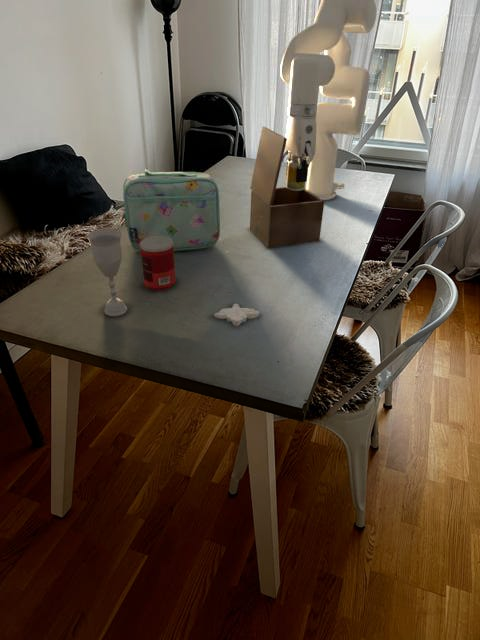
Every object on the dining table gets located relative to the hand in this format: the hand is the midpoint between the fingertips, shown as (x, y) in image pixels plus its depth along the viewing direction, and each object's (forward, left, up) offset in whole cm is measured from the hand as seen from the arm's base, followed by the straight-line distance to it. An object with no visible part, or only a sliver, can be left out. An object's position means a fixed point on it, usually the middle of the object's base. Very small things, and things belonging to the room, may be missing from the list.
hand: (296, 178), depth 133 cm
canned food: (+44, +18, -17) cm, 51 cm away
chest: (+2, 0, -17) cm, 17 cm away
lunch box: (+36, -2, -17) cm, 40 cm away
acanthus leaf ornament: (+31, +38, -17) cm, 52 cm away
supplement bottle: (0, 0, -3) cm, 3 cm away
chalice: (+56, +27, -17) cm, 65 cm away
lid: (+9, 0, +4) cm, 10 cm away
